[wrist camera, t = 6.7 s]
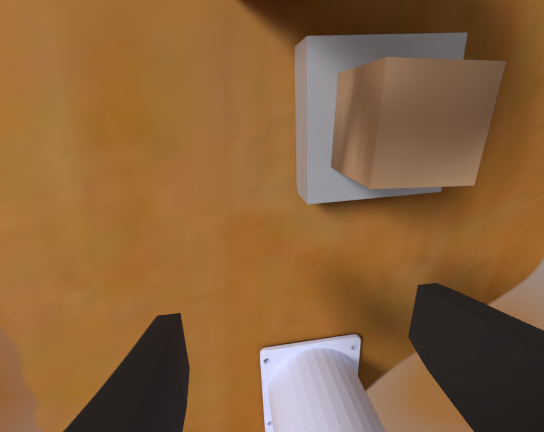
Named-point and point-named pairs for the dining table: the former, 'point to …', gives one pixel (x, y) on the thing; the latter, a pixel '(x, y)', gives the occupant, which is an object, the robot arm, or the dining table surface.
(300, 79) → the slate block
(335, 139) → the walnut cube
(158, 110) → the dining table surface
